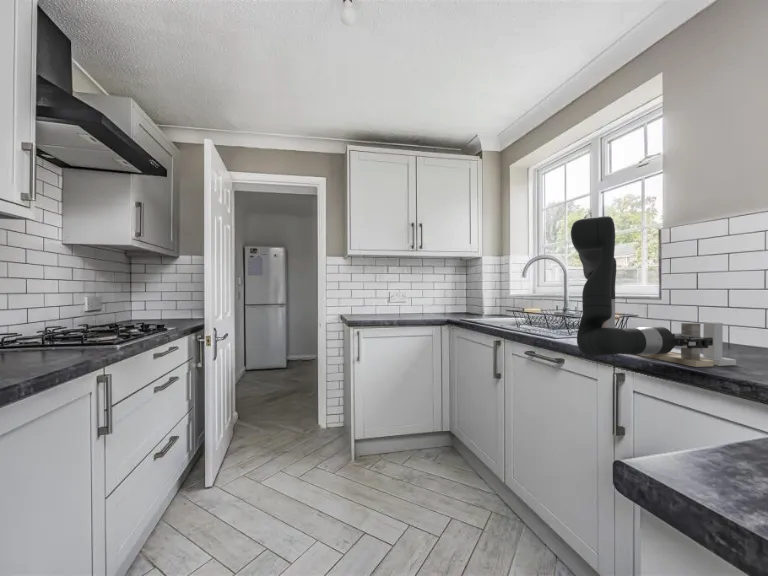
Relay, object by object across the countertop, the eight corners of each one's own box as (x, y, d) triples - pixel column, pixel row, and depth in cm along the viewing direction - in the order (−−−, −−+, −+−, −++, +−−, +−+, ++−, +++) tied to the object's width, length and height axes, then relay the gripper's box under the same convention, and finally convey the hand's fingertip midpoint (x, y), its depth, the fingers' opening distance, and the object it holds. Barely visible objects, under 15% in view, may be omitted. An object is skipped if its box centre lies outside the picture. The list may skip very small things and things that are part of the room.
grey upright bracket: (648, 352, 128) (648, 317, 128) (663, 351, 130) (663, 317, 130) (719, 365, 107) (719, 324, 107) (736, 365, 108) (736, 323, 108)
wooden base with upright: (628, 353, 127) (628, 317, 126) (643, 352, 128) (643, 317, 128) (696, 367, 105) (696, 324, 105) (713, 366, 106) (714, 324, 106)
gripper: (673, 330, 99) (722, 328, 103) (627, 324, 113) (672, 323, 117) (673, 359, 100) (722, 356, 103) (627, 350, 113) (671, 348, 117)
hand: (695, 339), depth 110 cm, fingers open, 8 cm apart
